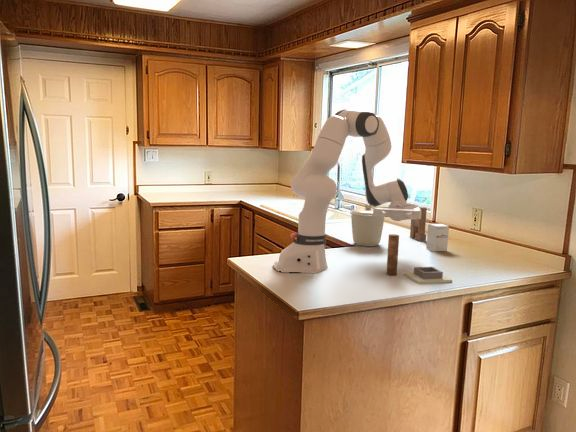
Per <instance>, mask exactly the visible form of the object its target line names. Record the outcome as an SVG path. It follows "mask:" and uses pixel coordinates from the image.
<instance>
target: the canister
mask: <svg viewBox="0 0 576 432" xmlns="http://www.w3.org/2000/svg"><path fill="white" fill-rule="evenodd" d="M373 209H374V208H373V206H372V205H370V204H368V203H365V204H364V207H360V208H354V209H353V210H350V212H349V213H350V218H351V232H352V233H351V234H352V240H353V243H354V244H355V245H358V246H360V247H376V246H378V245H379V244H380V243H381V239H382V235H383V229H384V222H385V217H375V216H373Z"/></svg>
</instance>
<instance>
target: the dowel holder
mask: <svg viewBox="0 0 576 432" xmlns="http://www.w3.org/2000/svg"><path fill="white" fill-rule="evenodd" d="M404 276H406V277H407V278H408V279H410V280H411V281H413V282H415V283H416V284H419V285H420V284H439V283H441V284H443V283H452V282H453V279H452V278H450V277H448V276H446V275H445V274H444V272H443V271H442V270H439V269H438V268H436V267H434V266H415V267H413V271H404Z"/></svg>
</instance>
